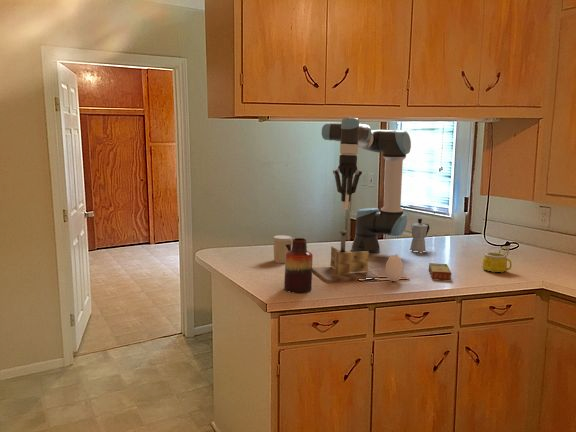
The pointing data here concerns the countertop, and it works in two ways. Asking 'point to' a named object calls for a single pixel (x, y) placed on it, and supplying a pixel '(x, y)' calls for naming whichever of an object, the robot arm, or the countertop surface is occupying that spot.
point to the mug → (496, 261)
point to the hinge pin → (343, 240)
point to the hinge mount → (345, 267)
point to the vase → (298, 267)
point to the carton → (439, 271)
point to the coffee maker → (419, 236)
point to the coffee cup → (281, 247)
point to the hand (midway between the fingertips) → (345, 209)
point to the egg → (394, 268)
